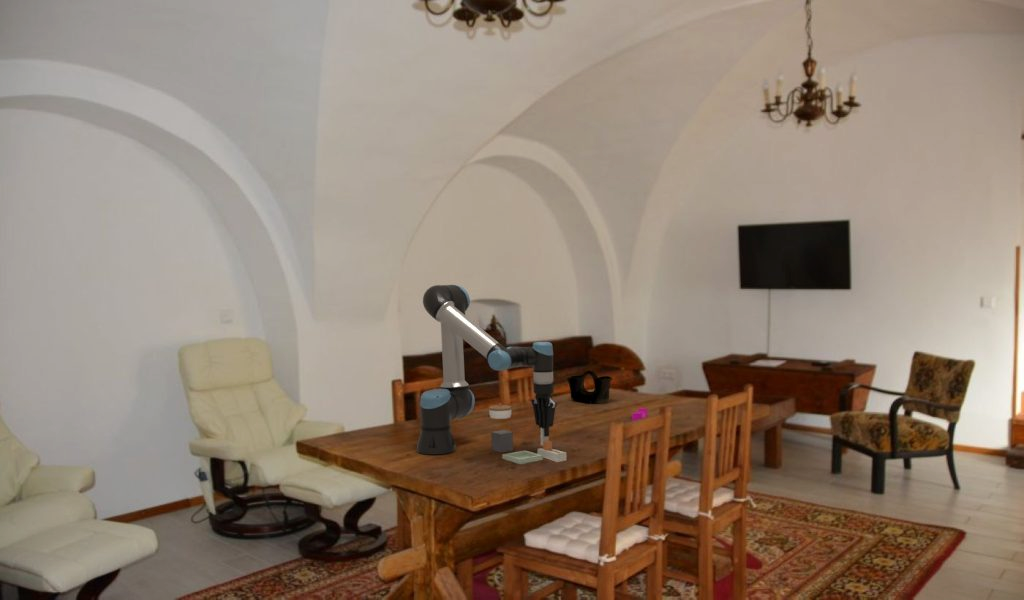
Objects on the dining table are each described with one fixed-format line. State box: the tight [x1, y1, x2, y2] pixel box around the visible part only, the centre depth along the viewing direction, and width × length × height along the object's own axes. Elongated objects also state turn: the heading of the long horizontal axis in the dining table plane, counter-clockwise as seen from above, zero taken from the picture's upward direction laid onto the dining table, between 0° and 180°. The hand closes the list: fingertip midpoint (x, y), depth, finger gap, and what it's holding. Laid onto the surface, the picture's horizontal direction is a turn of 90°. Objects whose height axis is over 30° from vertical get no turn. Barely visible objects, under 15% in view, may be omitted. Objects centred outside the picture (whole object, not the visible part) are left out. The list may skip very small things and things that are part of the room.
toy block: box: [631, 407, 648, 422], centre depth 353 cm, size 15×6×8 cm, turn 159°
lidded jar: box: [488, 402, 512, 420], centre depth 369 cm, size 11×11×9 cm
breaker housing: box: [536, 447, 567, 463], centre depth 293 cm, size 4×12×3 cm, turn 36°
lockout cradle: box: [501, 450, 544, 466], centre depth 291 cm, size 11×11×2 cm
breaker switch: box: [542, 440, 553, 450], centre depth 295 cm, size 2×2×3 cm
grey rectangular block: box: [490, 429, 514, 454], centre depth 305 cm, size 6×6×8 cm
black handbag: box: [566, 370, 613, 405], centre depth 405 cm, size 25×11×20 cm, turn 59°
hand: (544, 444), depth 296 cm, fingers closed
